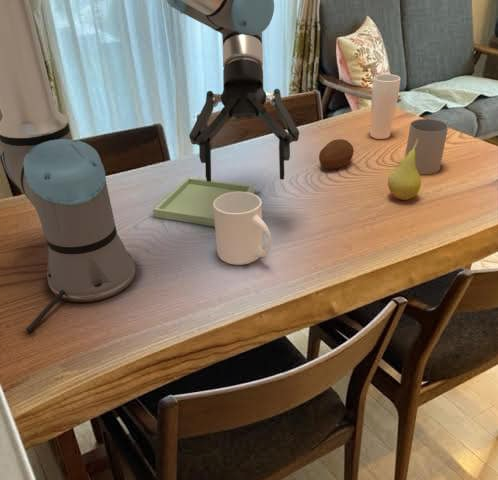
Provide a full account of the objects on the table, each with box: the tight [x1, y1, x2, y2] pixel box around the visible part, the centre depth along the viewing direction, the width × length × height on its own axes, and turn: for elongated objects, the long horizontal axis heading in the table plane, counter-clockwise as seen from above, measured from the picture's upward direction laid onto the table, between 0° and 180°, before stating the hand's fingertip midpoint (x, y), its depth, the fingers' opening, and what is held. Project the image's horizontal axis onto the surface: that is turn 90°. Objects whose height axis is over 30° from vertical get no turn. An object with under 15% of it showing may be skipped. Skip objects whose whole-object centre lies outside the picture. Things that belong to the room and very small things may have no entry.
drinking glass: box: [369, 73, 401, 140], centre depth 140 cm, size 7×7×15 cm
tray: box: [152, 176, 255, 228], centre depth 117 cm, size 17×17×2 cm
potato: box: [318, 138, 355, 170], centre depth 130 cm, size 7×10×6 cm
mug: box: [213, 192, 272, 266], centre depth 98 cm, size 9×12×11 cm
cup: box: [404, 118, 449, 175], centre depth 126 cm, size 8×8×10 cm
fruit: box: [387, 138, 422, 201], centre depth 114 cm, size 7×8×12 cm
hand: (245, 178), depth 99 cm, fingers open, 13 cm apart
